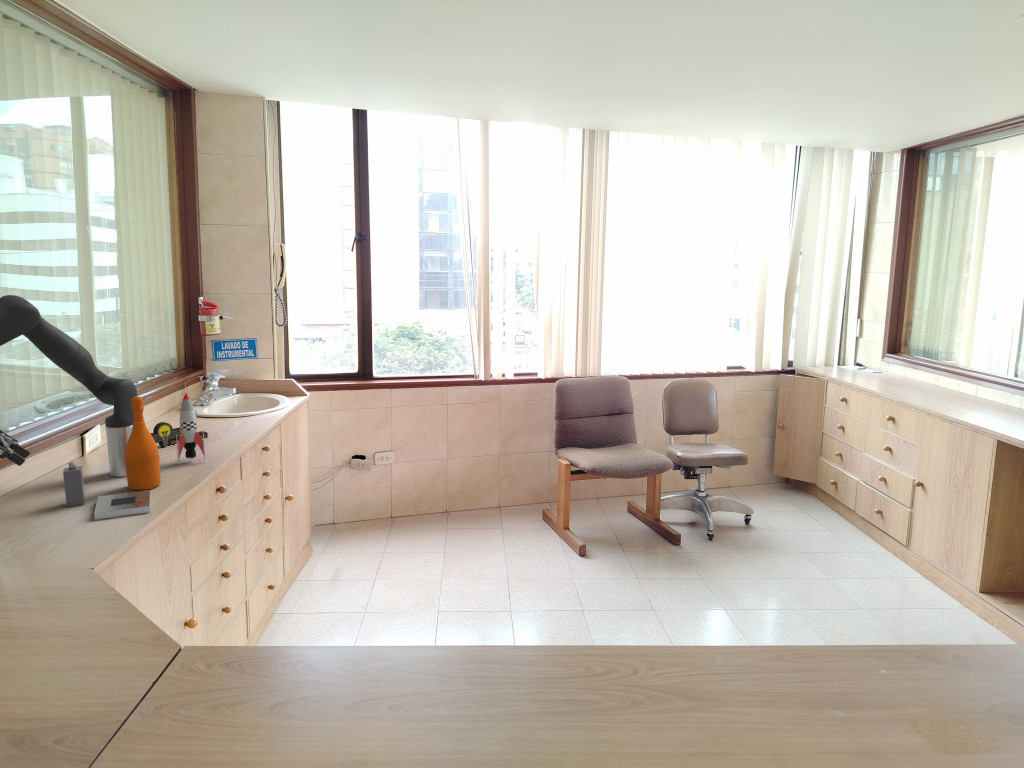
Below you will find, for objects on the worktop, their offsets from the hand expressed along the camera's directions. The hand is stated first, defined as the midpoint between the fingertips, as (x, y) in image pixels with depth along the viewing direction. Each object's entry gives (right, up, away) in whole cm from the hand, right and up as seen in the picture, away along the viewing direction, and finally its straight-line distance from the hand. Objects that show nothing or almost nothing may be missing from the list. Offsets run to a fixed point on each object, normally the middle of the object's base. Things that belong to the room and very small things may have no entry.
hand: (25, 459), depth 200 cm
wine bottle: (+22, -12, +24) cm, 35 cm away
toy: (+24, -7, +51) cm, 57 cm away
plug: (+10, -14, +8) cm, 19 cm away
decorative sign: (+7, -3, +76) cm, 76 cm away
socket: (+26, -15, +5) cm, 30 cm away
